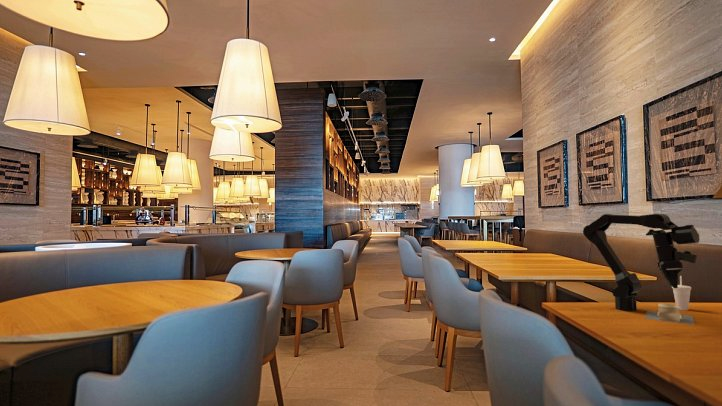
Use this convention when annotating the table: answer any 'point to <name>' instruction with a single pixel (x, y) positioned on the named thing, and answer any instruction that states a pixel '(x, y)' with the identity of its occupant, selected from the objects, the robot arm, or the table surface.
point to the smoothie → (682, 295)
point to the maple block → (669, 312)
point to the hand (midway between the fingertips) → (674, 287)
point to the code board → (683, 319)
